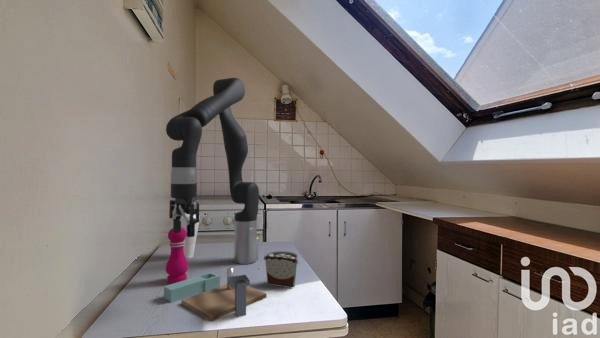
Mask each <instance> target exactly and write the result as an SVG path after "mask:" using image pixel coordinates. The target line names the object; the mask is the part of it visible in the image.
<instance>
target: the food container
mask: <svg viewBox="0 0 600 338" xmlns="http://www.w3.org/2000/svg"><path fill="white" fill-rule="evenodd" d="M263 260H264V261H265V269H266V273H265V274H266V279H267V280H266V282H267V285H269V284H270V286H276V285H278V286H277V287H283V286H287V287H286V288H290V287H294V288H295V286H296V275H297V266H298V264H299V263H300V260H299V257H298V254H297V253H295V252H291V251H286V250H285V251H281V250H279V251H278V250H277V251H270V252H266V253H265V254H264V256H263Z"/></svg>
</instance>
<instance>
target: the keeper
mask: <svg viewBox="0 0 600 338" xmlns="http://www.w3.org/2000/svg"><path fill="white" fill-rule="evenodd" d="M228 283H229V285H230V287H231V288H234V287H235V311H234V314H235V316H236V317H242V316H246V315H247V306H246V286H251V285H250V283H251V281H250V279H249V277H248V276H247V275H246V274H241V275H233V277H228Z"/></svg>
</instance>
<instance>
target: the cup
mask: <svg viewBox="0 0 600 338" xmlns="http://www.w3.org/2000/svg"><path fill="white" fill-rule="evenodd" d="M200 218H201V214H199V222H197V223H196V224H195V236H194V237H187V236H186V238H185V239H184V241H185V245H184V255H185V258H186V259H191V258H193V257H194V252H195V249H196V242H197V236H198V231H199V226H200V220H201V219H200ZM195 219H196V214H195ZM189 220H190V218H189ZM180 221H181V227H182V228H184V229H185V230H186V233H187V223H186V220H185V219H184V218H183V216H182V218H181V220H180Z"/></svg>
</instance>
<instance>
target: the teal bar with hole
mask: <svg viewBox="0 0 600 338" xmlns="http://www.w3.org/2000/svg"><path fill="white" fill-rule="evenodd" d="M220 286H221V275H219V274H217V273H214V272H212V271H209V272H207V273H203V274H200V275H196V276H195V277H190V278H187V280H184V281H180V282H177V283H173V284H170V283H169V284H167V285H163V299H165V300H166V301H168V302H170V303H173V302H177V301H179V300H182V299H185V298H188V297H191V296H194V295H197V294H200V293H203V292H206V291H208V290H211V289H214V288H217V287H220Z"/></svg>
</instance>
